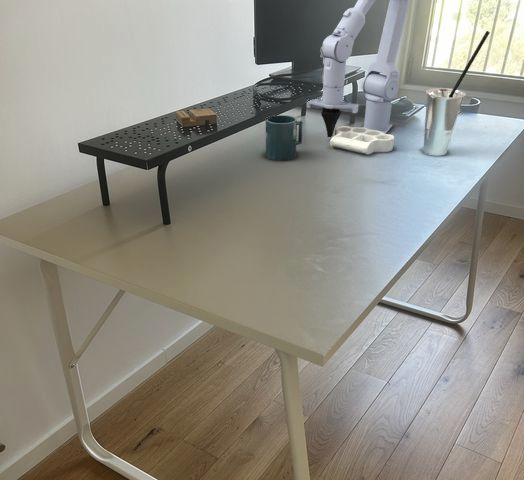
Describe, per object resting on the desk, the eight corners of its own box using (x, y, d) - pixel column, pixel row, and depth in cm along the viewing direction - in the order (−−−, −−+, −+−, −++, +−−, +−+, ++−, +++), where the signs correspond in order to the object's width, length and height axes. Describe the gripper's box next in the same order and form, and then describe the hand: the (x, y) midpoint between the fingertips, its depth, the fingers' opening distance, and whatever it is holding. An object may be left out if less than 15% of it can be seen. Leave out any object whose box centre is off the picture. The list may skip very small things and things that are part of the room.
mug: (278, 162, 147) (278, 125, 142) (259, 154, 153) (259, 118, 147) (310, 154, 153) (312, 118, 147) (291, 146, 158) (292, 111, 152)
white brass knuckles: (319, 146, 158) (345, 134, 167) (376, 159, 149) (400, 145, 158) (320, 134, 155) (346, 122, 165) (378, 146, 147) (402, 133, 156)
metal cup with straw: (463, 159, 149) (490, 31, 131) (420, 158, 149) (442, 31, 131) (452, 146, 158) (477, 24, 139) (413, 146, 158) (432, 24, 139)
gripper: (303, 86, 152) (301, 137, 160) (355, 91, 147) (350, 143, 155) (312, 80, 157) (310, 130, 165) (362, 85, 152) (357, 136, 161)
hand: (330, 136), depth 161 cm, fingers closed
